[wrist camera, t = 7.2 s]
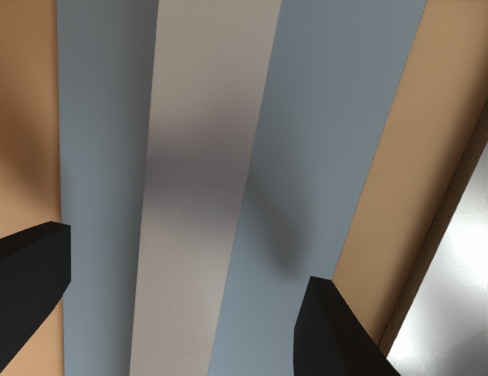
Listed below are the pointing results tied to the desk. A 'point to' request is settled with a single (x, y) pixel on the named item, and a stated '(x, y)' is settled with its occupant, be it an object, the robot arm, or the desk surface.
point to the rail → (196, 173)
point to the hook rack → (449, 281)
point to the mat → (259, 177)
